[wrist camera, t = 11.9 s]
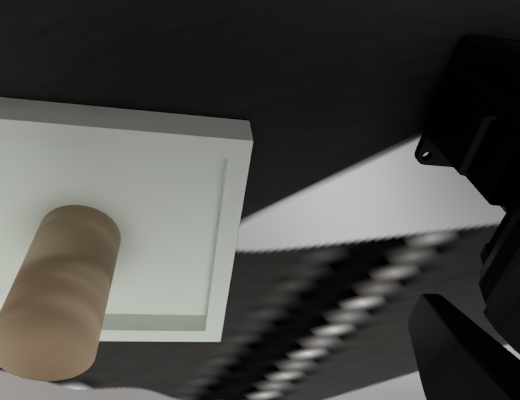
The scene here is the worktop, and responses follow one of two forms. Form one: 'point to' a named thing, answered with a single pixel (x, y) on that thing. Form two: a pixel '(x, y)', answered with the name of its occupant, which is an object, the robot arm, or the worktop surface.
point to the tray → (132, 206)
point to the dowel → (60, 296)
